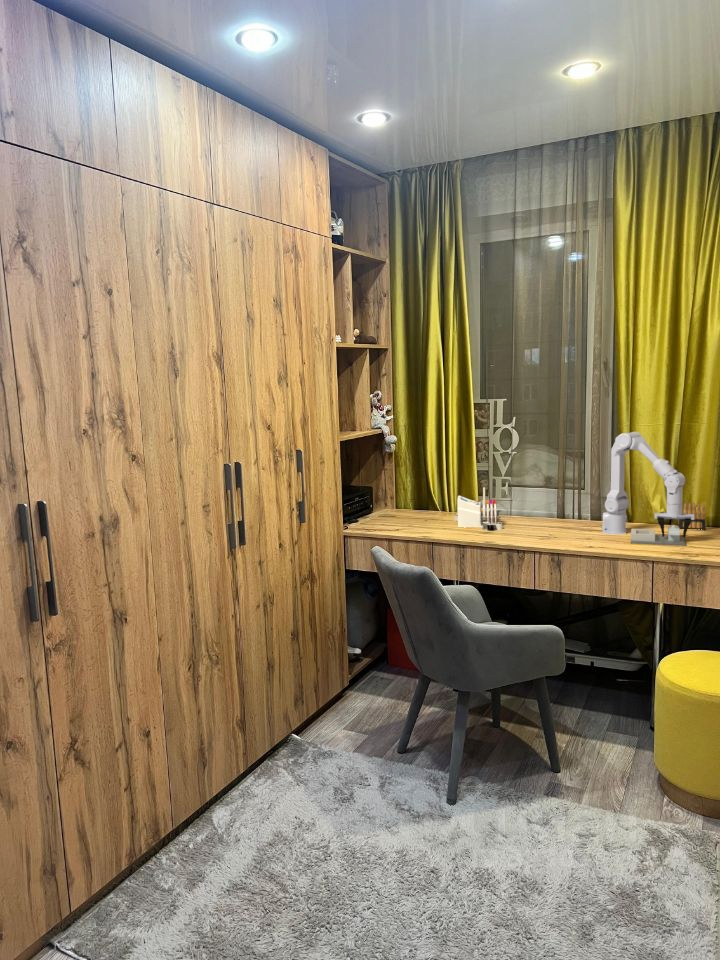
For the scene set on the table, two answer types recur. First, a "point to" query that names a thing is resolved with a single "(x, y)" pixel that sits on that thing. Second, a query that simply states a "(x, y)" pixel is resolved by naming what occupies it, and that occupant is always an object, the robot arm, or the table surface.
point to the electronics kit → (477, 513)
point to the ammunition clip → (697, 522)
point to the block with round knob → (673, 533)
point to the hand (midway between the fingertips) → (673, 536)
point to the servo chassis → (653, 538)
